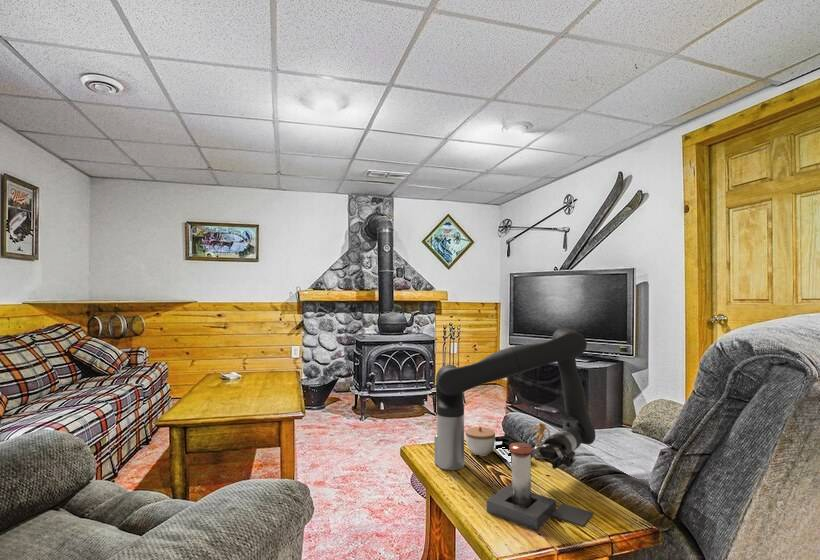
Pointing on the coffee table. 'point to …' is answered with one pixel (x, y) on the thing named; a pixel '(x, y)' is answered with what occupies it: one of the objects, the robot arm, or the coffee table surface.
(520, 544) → the coffee table surface
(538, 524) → the bore housing
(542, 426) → the figurine
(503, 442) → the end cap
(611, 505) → the coffee table surface
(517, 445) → the capped metal cylinder
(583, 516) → the mat
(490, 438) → the lidded jar
